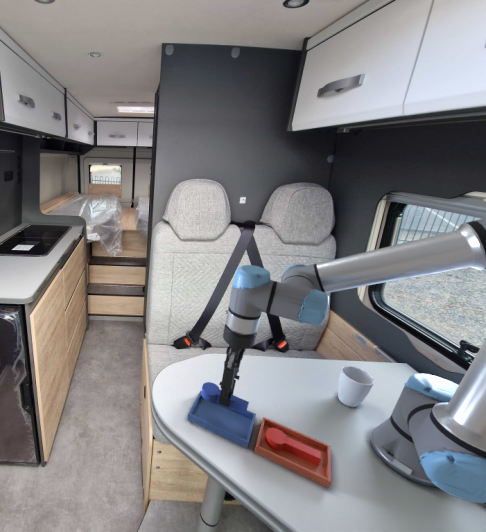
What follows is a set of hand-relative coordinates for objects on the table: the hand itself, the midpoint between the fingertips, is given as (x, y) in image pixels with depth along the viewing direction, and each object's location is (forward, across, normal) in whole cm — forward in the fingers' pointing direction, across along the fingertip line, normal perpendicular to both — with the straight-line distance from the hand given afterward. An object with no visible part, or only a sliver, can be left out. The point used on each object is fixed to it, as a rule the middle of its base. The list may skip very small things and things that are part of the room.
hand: (225, 400), depth 84 cm
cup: (+7, -29, +32) cm, 43 cm away
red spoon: (+6, 0, +18) cm, 19 cm away
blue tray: (+7, 0, 0) cm, 7 cm away
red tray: (+7, 0, +18) cm, 19 cm away
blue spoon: (0, 0, 0) cm, 1 cm away
